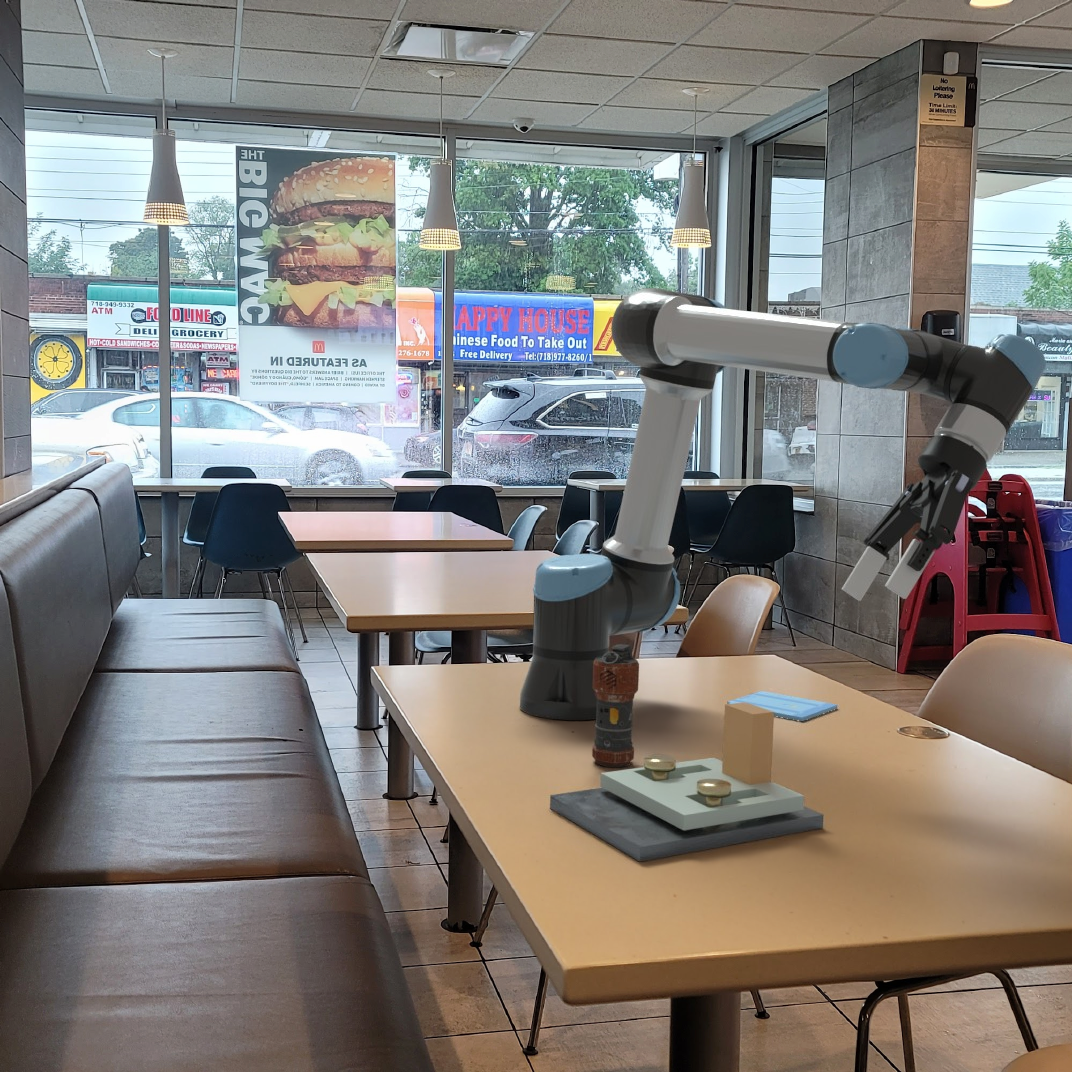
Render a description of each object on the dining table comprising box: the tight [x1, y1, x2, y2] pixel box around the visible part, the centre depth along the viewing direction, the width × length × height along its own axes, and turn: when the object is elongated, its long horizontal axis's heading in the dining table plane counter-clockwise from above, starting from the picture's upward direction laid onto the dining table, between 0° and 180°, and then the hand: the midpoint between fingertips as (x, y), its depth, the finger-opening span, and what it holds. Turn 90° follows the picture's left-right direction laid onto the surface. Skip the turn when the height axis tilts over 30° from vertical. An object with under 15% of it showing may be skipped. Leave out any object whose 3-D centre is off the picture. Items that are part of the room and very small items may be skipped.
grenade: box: [591, 643, 640, 768], centre depth 149 cm, size 6×8×15 cm
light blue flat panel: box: [726, 690, 839, 722], centre depth 182 cm, size 14×12×1 cm
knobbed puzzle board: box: [600, 702, 805, 830], centre depth 128 cm, size 16×16×10 cm
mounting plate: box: [549, 754, 824, 863], centre depth 127 cm, size 18×24×5 cm
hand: (871, 594), depth 139 cm, fingers open, 13 cm apart
